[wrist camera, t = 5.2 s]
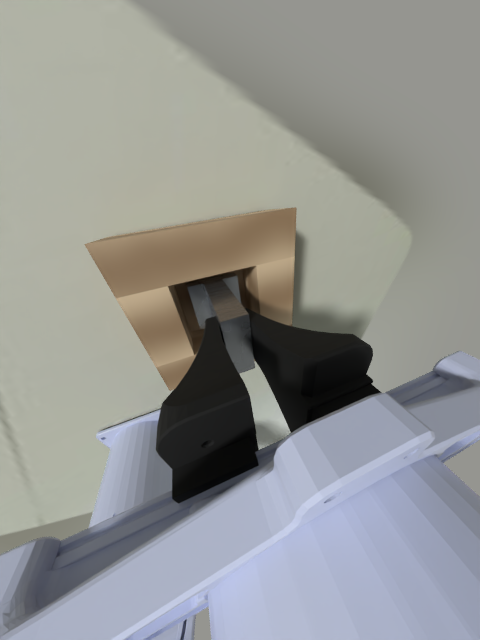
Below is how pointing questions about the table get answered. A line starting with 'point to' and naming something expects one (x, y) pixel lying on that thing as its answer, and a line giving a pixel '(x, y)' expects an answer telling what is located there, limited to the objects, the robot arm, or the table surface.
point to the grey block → (225, 316)
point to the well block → (197, 277)
